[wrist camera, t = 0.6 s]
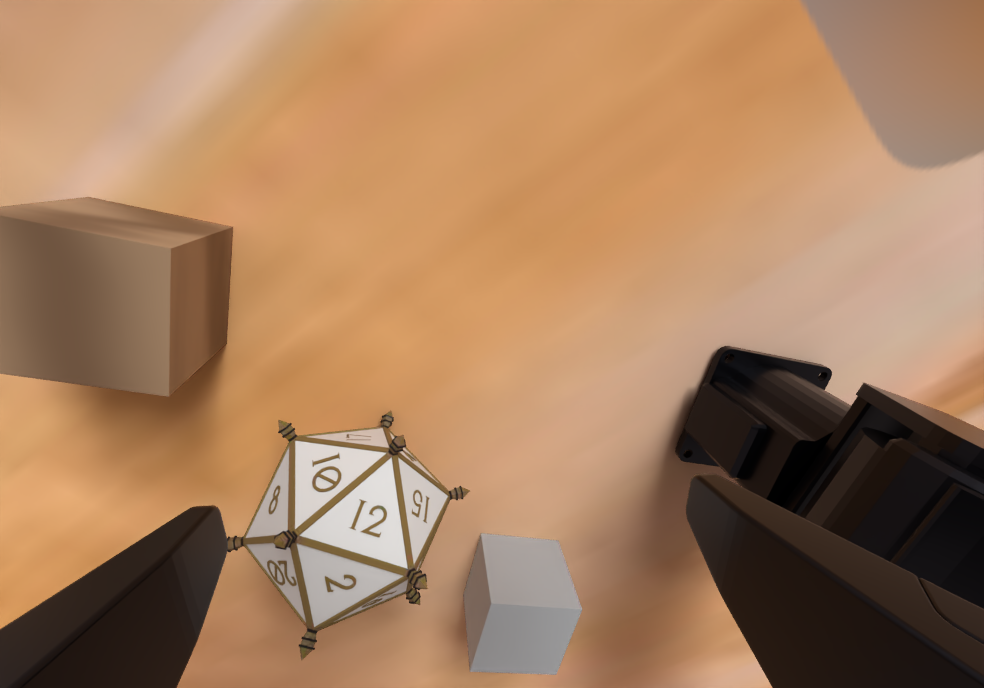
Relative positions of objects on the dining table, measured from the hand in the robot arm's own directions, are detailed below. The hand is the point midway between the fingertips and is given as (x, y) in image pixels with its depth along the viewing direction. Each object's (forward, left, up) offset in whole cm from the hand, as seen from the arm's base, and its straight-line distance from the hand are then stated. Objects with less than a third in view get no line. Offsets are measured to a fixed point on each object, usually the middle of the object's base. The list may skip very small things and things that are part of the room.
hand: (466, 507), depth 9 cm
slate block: (-7, +14, -13) cm, 20 cm away
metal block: (+11, +1, -13) cm, 17 cm away
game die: (+2, +8, -13) cm, 16 cm away
